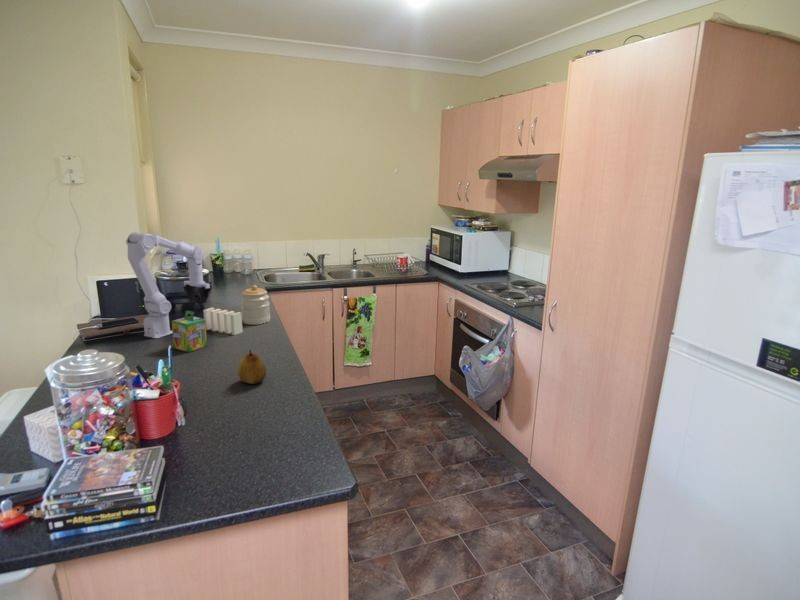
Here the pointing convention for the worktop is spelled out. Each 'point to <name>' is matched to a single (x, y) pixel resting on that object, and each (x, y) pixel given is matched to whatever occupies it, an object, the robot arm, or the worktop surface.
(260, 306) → the jar
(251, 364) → the fruit
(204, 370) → the worktop surface
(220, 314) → the domino
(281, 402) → the worktop surface
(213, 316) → the domino
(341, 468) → the worktop surface
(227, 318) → the domino
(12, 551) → the worktop surface
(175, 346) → the chalk box
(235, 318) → the domino
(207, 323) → the domino
